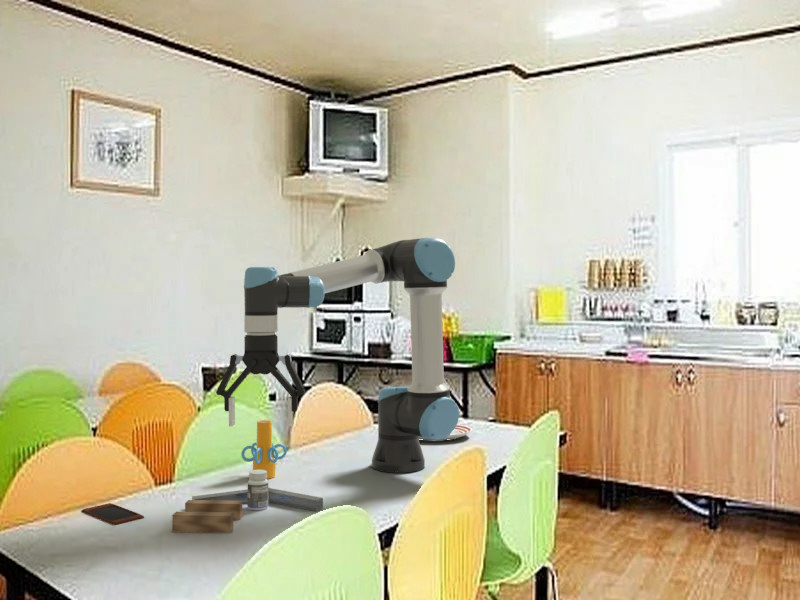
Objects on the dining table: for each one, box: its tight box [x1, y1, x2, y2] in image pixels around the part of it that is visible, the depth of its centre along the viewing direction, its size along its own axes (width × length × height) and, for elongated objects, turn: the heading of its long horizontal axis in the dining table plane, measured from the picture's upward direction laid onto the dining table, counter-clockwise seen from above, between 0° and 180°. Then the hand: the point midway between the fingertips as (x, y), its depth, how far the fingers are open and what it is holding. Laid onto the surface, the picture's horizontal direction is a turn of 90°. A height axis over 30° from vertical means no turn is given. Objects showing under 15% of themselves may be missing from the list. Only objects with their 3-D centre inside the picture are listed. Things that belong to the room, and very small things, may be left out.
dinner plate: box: [419, 424, 473, 440], centre depth 257 cm, size 28×27×3 cm
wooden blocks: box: [171, 499, 243, 534], centre depth 158 cm, size 12×11×4 cm
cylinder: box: [241, 419, 288, 480], centre depth 199 cm, size 12×10×15 cm
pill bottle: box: [247, 469, 269, 511], centre depth 170 cm, size 5×5×8 cm
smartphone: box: [81, 502, 145, 526], centre depth 164 cm, size 7×1×15 cm
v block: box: [191, 487, 324, 512], centre depth 173 cm, size 30×10×2 cm, turn 89°
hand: (261, 425), depth 170 cm, fingers open, 13 cm apart
